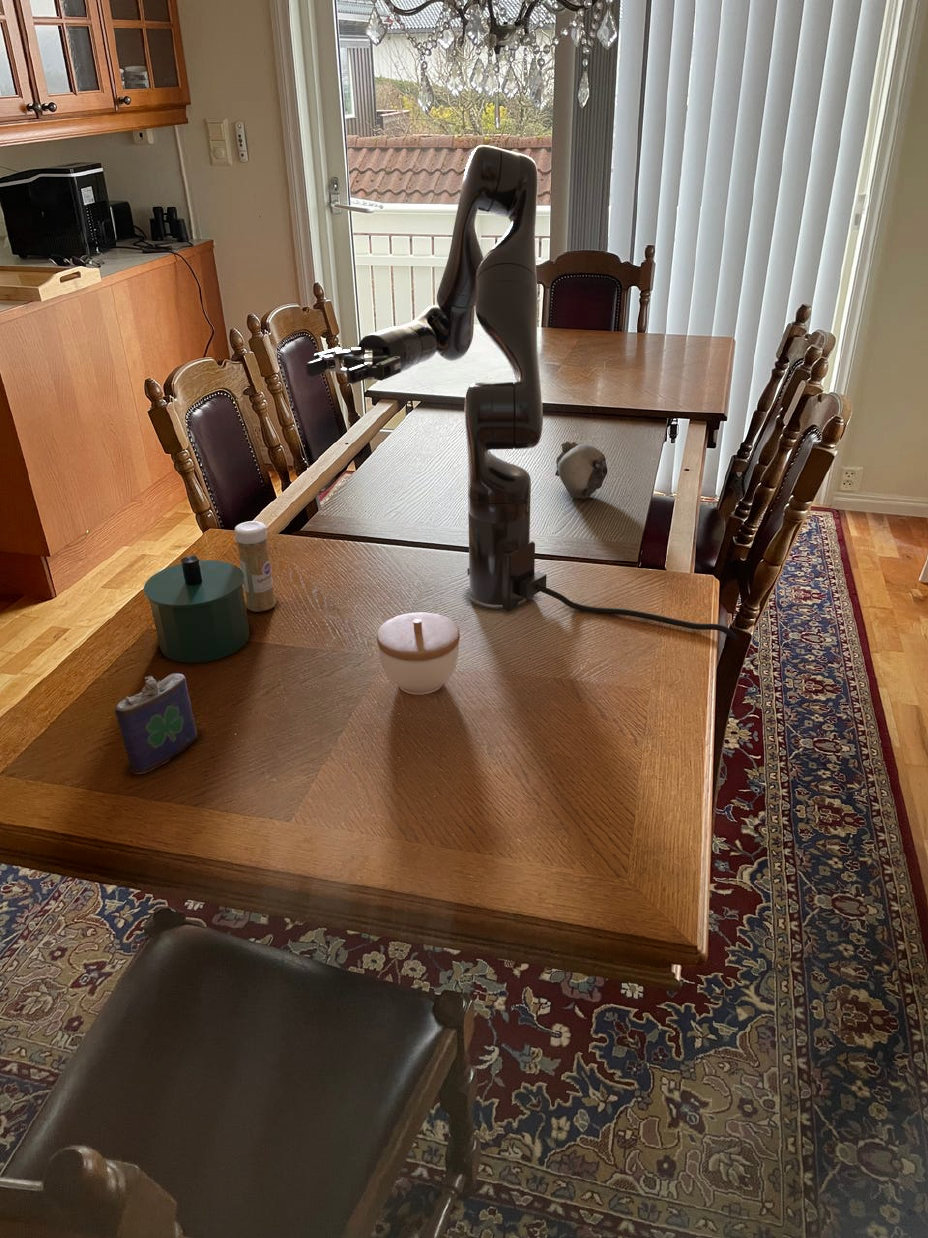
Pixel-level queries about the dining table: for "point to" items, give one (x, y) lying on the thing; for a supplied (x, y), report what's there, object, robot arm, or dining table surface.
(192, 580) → the pot lid
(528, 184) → the robot arm
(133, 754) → the flask
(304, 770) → the dining table surface
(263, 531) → the sprinkles bottle
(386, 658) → the trinket box
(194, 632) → the pot
